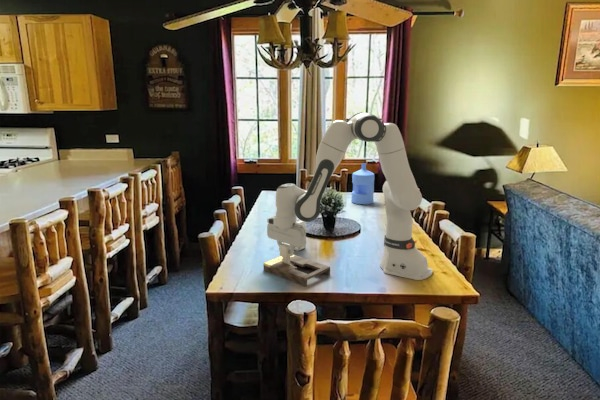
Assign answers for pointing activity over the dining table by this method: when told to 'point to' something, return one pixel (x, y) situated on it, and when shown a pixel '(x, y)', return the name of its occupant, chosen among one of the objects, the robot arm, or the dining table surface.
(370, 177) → the water jug
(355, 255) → the dining table surface
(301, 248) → the syrup box
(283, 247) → the keyed peg
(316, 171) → the robot arm
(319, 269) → the keyhole plate
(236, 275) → the dining table surface
